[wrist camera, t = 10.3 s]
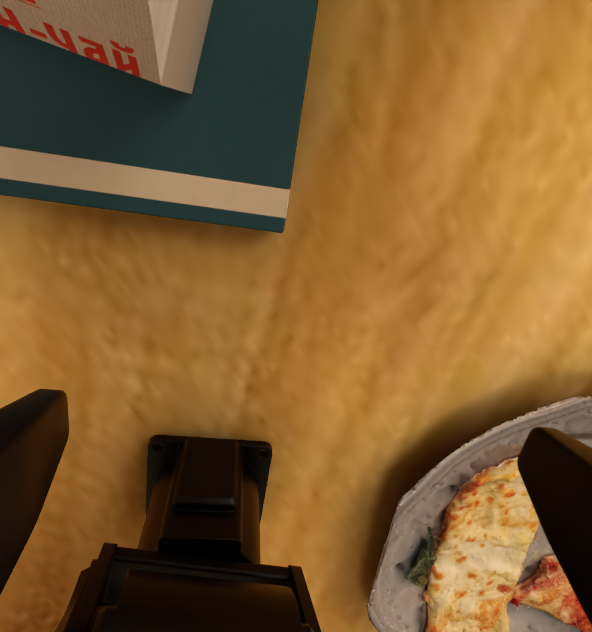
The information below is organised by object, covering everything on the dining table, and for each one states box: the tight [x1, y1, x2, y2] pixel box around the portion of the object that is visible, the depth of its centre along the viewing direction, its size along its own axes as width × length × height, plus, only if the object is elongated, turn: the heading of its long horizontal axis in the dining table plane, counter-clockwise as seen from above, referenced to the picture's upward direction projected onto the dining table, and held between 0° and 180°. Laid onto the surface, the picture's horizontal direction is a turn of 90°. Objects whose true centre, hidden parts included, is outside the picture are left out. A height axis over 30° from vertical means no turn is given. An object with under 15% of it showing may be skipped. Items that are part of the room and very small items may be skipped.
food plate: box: [366, 396, 592, 632], centre depth 28 cm, size 25×23×4 cm
